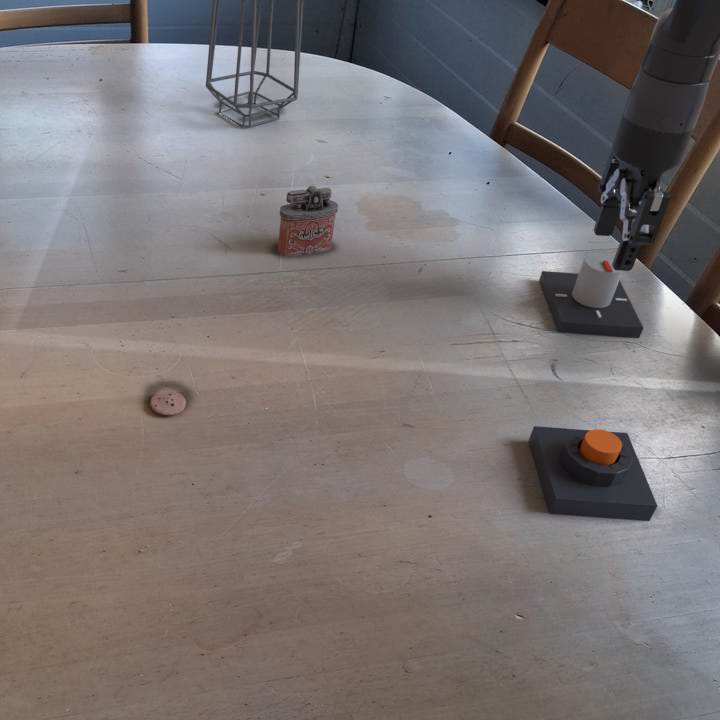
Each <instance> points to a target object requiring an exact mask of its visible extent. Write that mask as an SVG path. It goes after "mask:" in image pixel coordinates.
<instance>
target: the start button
mask: <svg viewBox="0 0 720 720" xmlns="http://www.w3.org/2000/svg"><path fill="white" fill-rule="evenodd" d="M589 430H590V431H588V432H587V433H586V434H585V437H584V439H583V442H582V444H581V446H580V453H581V455H582V456H583V457H584V458H586V459H587V460H589V461H591V462H593V463H596V464H598V465H611V464H613V463H614V462H615V461H616V459H617V457H618V454H619V452H620V450H621V448H622V443H621V441H620V439H619V438H618V437H617V436H616V435H614V434H613V433H611V432H612V431H608V430H605V429H600V428H599V429H596V428H594V429H589Z"/></svg>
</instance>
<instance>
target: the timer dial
mask: <svg viewBox="0 0 720 720" xmlns="http://www.w3.org/2000/svg"><path fill="white" fill-rule="evenodd" d="M614 258H615V255H611V254H608V253H604V252H591V253H588V254H586V255H585V256H584V258H583V261H582V262H581V263H582V264H581V267H580V269H579V272H578V274H579V275H578V277H577V280H576V283H575V286H574V289H573V291H572V297H573V298H574V299H575V300H576V301H577V302H578V303H580V304H582V305H584V306H587V307H592V308H604V307H607V306H608V305H610V303H611V300H612V298H613V295H614V293H615V290H616V288H617V285H618V283H619V280H620V281H621V278H622V275H623V272H624V271H620V270H615V269H614V268H613V266H612V263H613V260H614Z"/></svg>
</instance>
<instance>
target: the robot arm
mask: <svg viewBox="0 0 720 720" xmlns="http://www.w3.org/2000/svg"><path fill="white" fill-rule="evenodd" d="M719 58H720V0H675V1H674V4H673V6H672V7H670V8H668V9H665V11H663V12H662V14H661V15H659V17H658V19H657V21H656V23H655V26H654V27H653V31H652V33H651V36H650V38H649V42H648V44H647V48H646V51H645V54H644V57H643V59H642V62H641V66H640V69H639V71H638V73H637V75H636V77H635V79H634V81H633V84H632V86H631V88H630V91H629V94H628V97H627V100H626V103H625V106H624V109H623V112H622V115H621V118H620V121H619V124H618V127H617V129H616V133H615V136H614V139H613V142H612V144H611V151H610V153H609V156H608V158H607V162H606V164H605V168H604V170H603V172H602V175H601V179H600V181H599V184H598V193H602V194H601V196H600V203H601V206H600V209H599V212H598V216H597V218H596V220H595V224H594V227H593V233H594V235H596V236H599V237H601V236H602V237H610V236H611V235H613V233H614V231H615V228H616V225H617V222H618V220H619V219H620V221H621V222H623V225H622V227H623V228H622V237H621V239H620V241H619V244H618V247H617V250H616V252H615V255H614V257H615V258H614V260H613V263H612V266H613V268H614V269H615V270H620V271H623V272H629V271H632V270H633V268H634V265H635V263H636V260H637V258H638V255H639V253H640V249H641V247H642V245H643V246H644V245H645V246H653V245H654V243H655V241H656V238H657V235H658V233H659V230H660V227H661V224H662V221H663V219H664V216H665V213H666V211H667V208H668V205H669V202H670V200H671V193H670V191H669V192H668V191H661V190H660V187H661V186H660V185H661V182H662V181H661V180H662V176H663V174H664V173H665V172H667V171H670V170H673V169H675V168H677V167H678V166H679V165H680V164H681V163H682V160H683V159H684V156H685V154H686V150H687V148H688V146H689V143H690V140H691V138H692V136H693V132H694V131H695V128H696V125H697V122H698V119H699V118H700V115H701V112H702V109H703V107H704V104H705V101H706V97H707V93H708V90H709V84H710V82H711V79H712V77H713V74H714V71H715V69H716V66H717V63H718V61H719ZM631 210H632V211H631ZM633 211H634V212H633ZM635 211H637V212H635Z"/></svg>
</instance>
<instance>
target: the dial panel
mask: <svg viewBox="0 0 720 720" xmlns="http://www.w3.org/2000/svg"><path fill="white" fill-rule="evenodd" d="M578 275H579V273H574V272H561V271H551V270H550V271H549V270H547V271H546V270H542V271H541V274H540V277H539V279H538V283H539V285H540V288H541V291H542V293H543V296H544V299H545V301H546V305H547V307H548V309H549V311H550V315H551V317H552V320H553V323H554V325H555V328H556V331H557V333H559V334H561V333H562V334H574V335H590V336H601V337H602V336H603V337H617V338H629V339H640V337H641V335H642V333H643V330H644V326H643V324H642V322H641V320H640V318H639V316H638V314H637V311H636V310H635V307H634V306H633V304H632V302H631V299H630V297H629V296H628V293H627V292H626V290H625V288H624V285H623V284H622V282H621V279H620V280H619V283H618V285H617V288H616V290H615V293H614V295H613V298H612V300H611V303H610V305H608V306H607V307H604V308H592V307H587V306H584V305H582V304H580V303H578V302H577V301H576V300H575V299H574V298H573V297H572V291H573V289H574V286H575V283H576V280H577V277H578Z"/></svg>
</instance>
